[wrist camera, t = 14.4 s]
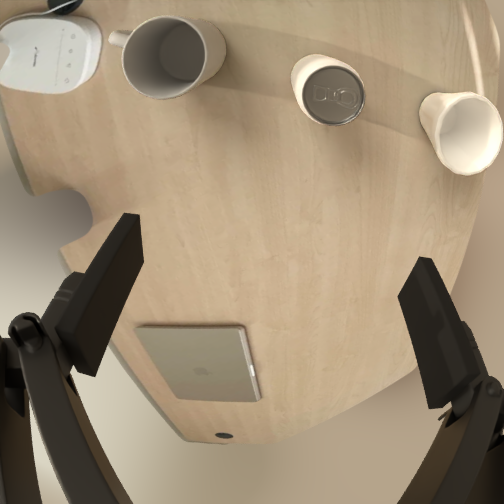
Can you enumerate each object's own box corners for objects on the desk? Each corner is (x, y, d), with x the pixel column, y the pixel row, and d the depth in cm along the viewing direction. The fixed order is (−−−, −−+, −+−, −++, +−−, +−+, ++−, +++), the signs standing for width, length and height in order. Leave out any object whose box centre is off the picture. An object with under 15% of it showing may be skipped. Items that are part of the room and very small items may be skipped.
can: (340, 106, 36) (364, 135, 27) (288, 100, 36) (293, 126, 27) (346, 58, 32) (374, 67, 22) (292, 50, 32) (299, 56, 23)
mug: (238, 33, 31) (225, 31, 22) (209, 93, 36) (187, 113, 27) (149, 4, 28) (107, -2, 20) (125, 63, 33) (81, 77, 25)
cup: (454, 69, 30) (493, 82, 23) (474, 133, 35) (509, 159, 28) (394, 93, 34) (423, 110, 27) (419, 157, 39) (447, 188, 32)
